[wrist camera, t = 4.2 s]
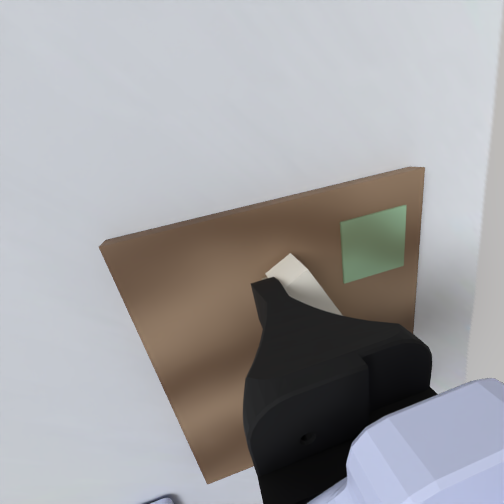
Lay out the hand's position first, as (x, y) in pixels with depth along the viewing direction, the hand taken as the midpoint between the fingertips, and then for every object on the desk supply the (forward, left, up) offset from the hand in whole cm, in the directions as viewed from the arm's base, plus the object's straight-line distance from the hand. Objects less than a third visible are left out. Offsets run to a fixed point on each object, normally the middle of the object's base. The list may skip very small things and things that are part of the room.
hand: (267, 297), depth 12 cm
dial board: (-5, -1, -2) cm, 6 cm away
